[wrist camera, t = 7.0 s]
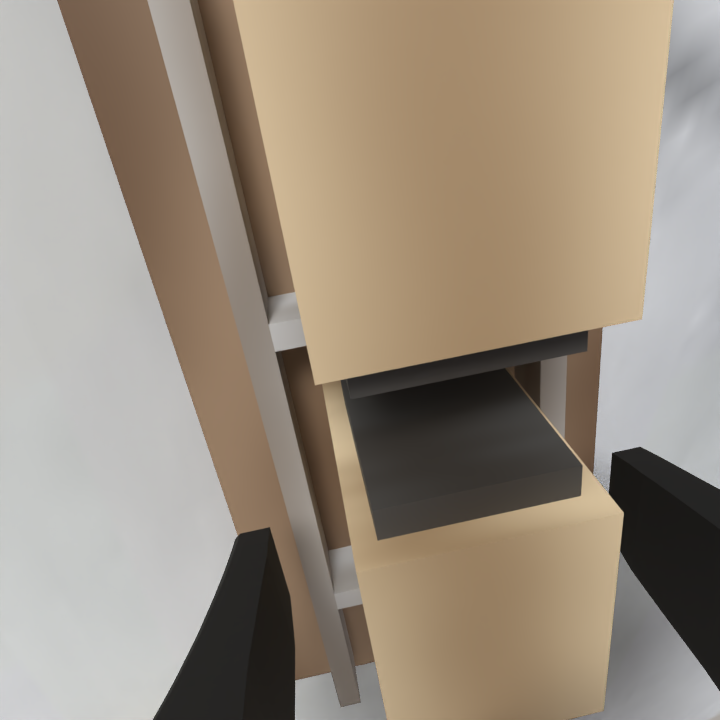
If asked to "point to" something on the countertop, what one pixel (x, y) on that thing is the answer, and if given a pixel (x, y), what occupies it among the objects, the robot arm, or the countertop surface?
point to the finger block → (476, 551)
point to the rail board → (375, 225)
